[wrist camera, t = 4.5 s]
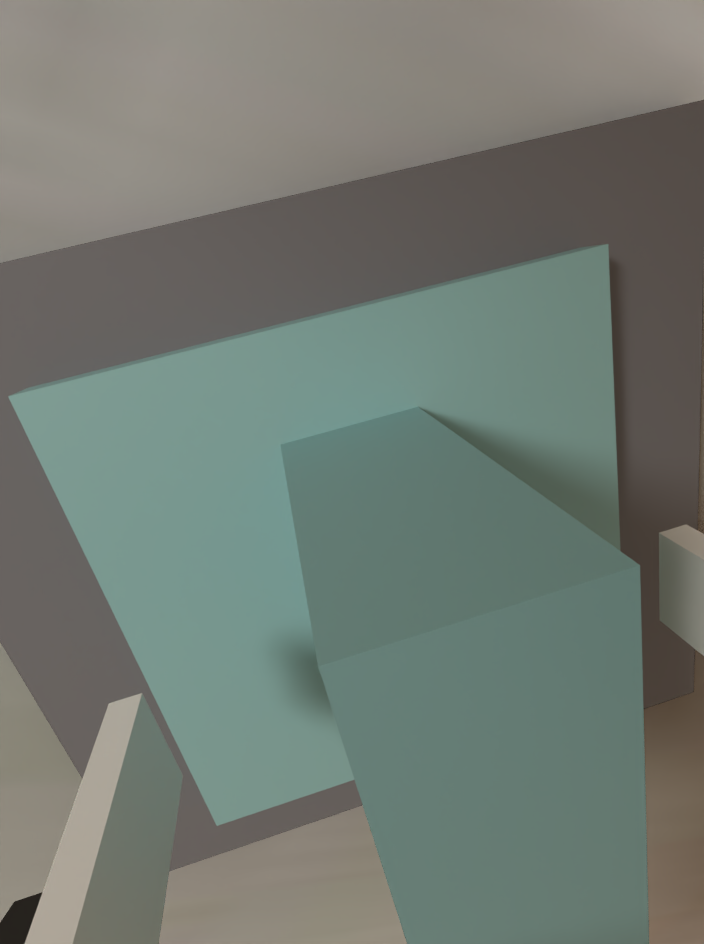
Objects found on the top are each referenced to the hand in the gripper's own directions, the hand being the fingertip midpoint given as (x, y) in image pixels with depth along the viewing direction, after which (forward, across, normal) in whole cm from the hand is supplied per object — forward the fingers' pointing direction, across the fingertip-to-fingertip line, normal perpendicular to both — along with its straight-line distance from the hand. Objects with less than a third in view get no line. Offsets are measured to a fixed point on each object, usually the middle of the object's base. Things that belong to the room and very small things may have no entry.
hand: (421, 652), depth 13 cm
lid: (+5, 0, 0) cm, 5 cm away
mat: (+6, 0, 0) cm, 6 cm away
